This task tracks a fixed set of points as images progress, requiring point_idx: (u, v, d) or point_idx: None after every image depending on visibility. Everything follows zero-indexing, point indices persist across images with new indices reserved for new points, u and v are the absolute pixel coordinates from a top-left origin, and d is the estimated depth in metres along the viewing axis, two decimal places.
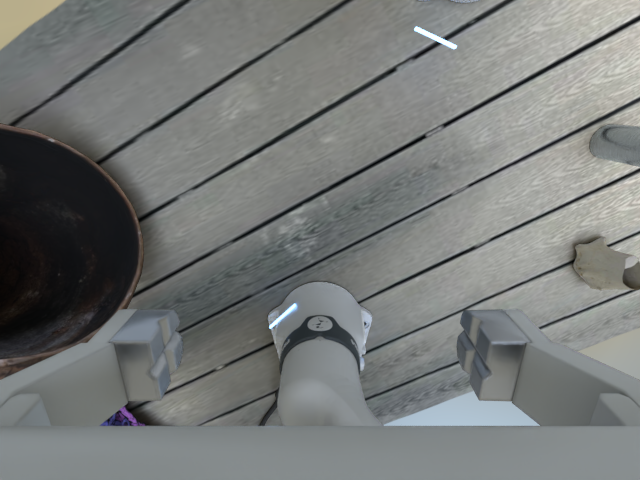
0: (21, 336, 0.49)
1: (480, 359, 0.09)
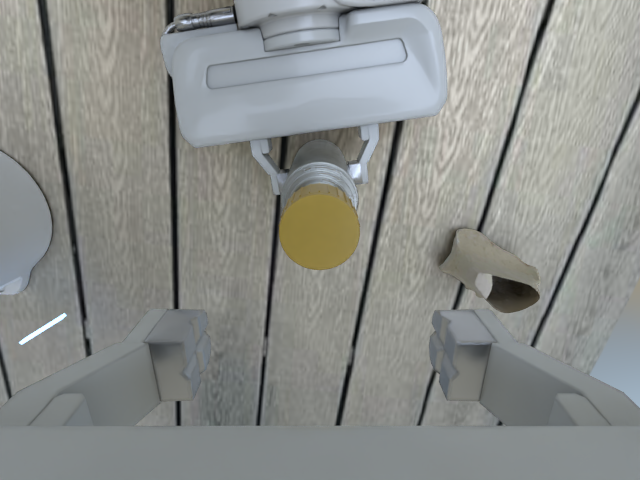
0: None
1: (448, 359, 0.09)
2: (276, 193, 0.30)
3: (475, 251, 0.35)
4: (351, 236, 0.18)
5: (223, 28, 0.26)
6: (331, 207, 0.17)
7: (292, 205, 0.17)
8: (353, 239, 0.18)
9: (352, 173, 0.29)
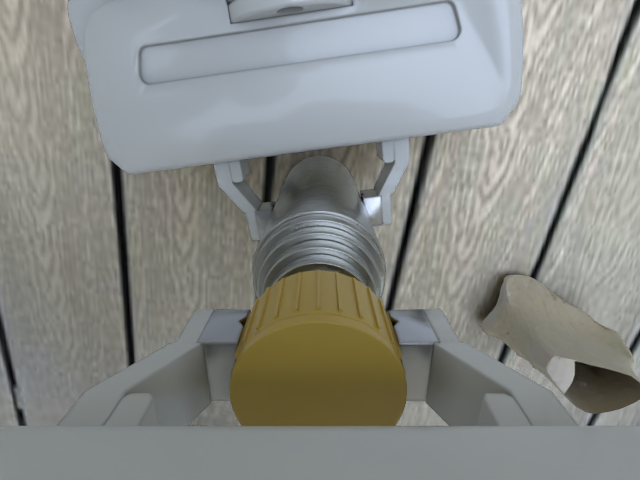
0: None
1: None
2: (255, 239, 0.20)
3: (533, 309, 0.26)
4: (388, 401, 0.08)
5: None
6: (345, 347, 0.08)
7: (257, 343, 0.08)
8: (393, 407, 0.08)
9: (368, 211, 0.20)
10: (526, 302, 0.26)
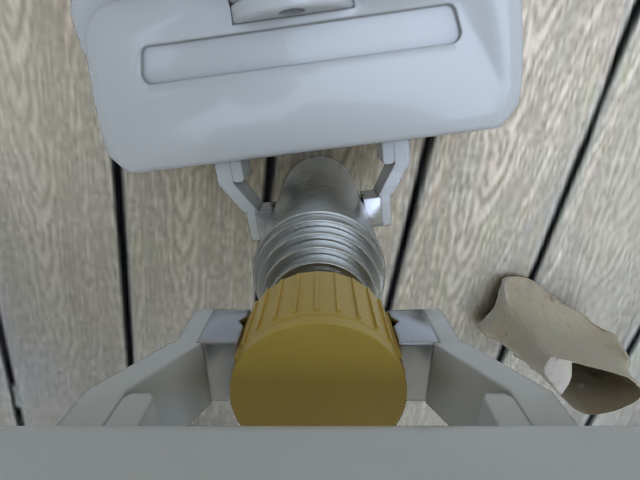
0: None
1: None
2: (255, 238, 0.20)
3: (531, 310, 0.26)
4: (333, 339, 0.08)
5: None
6: (259, 372, 0.08)
7: None
8: (340, 336, 0.07)
9: (368, 211, 0.20)
10: (524, 303, 0.26)
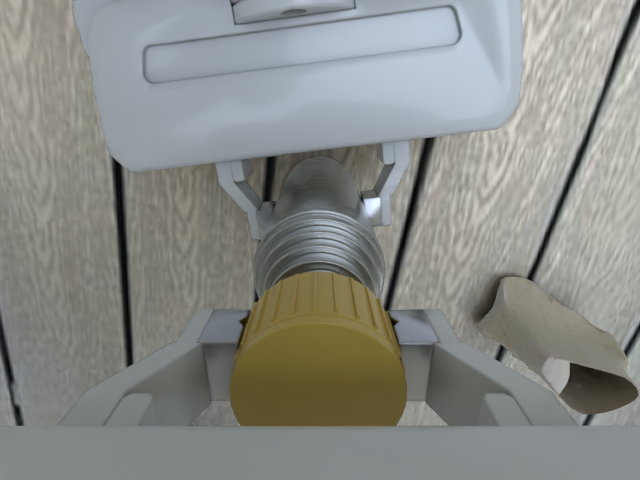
0: None
1: None
2: (256, 238, 0.21)
3: (530, 311, 0.26)
4: (248, 381, 0.08)
5: None
6: None
7: None
8: (244, 376, 0.08)
9: (368, 211, 0.20)
10: (522, 304, 0.26)
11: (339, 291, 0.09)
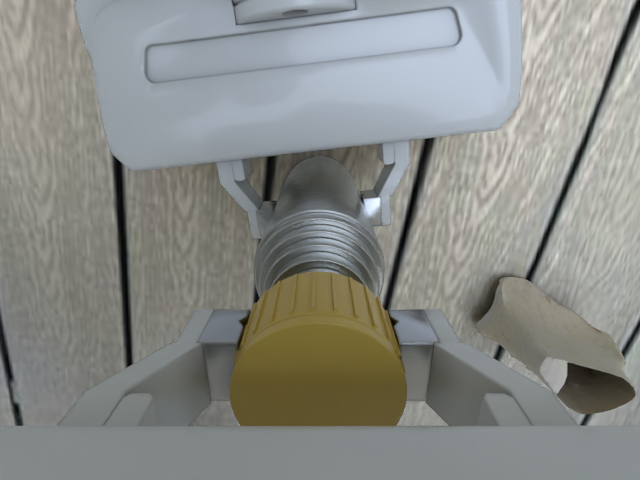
0: None
1: None
2: (256, 237, 0.21)
3: (528, 311, 0.26)
4: None
5: None
6: None
7: (399, 369, 0.08)
8: None
9: (368, 211, 0.20)
10: (521, 304, 0.27)
11: None
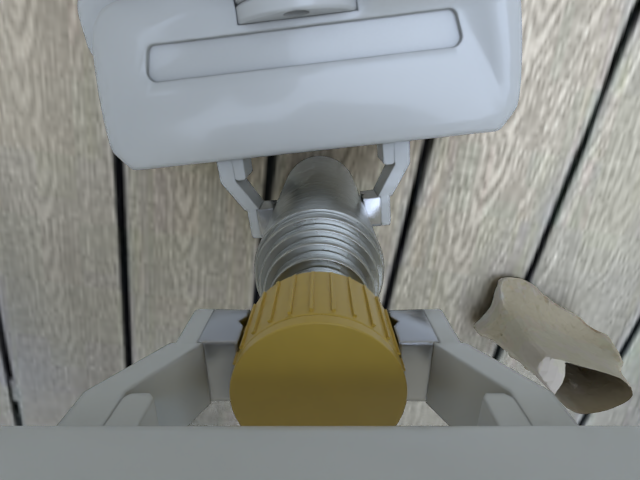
0: None
1: None
2: (256, 236, 0.21)
3: (526, 311, 0.26)
4: (378, 423, 0.08)
5: None
6: (368, 361, 0.08)
7: (288, 328, 0.07)
8: None
9: (368, 211, 0.20)
10: (519, 304, 0.27)
11: None
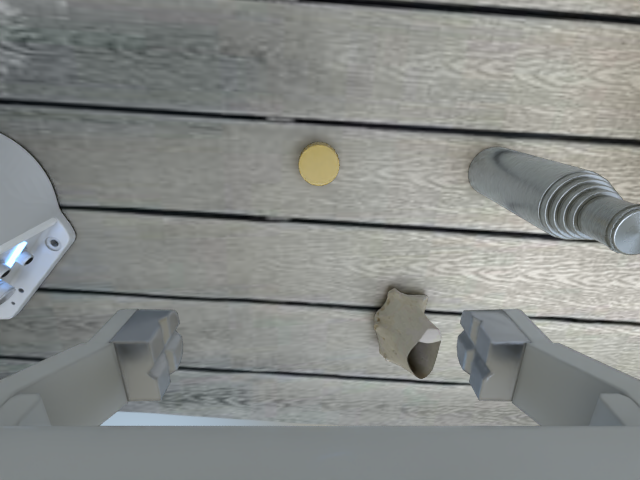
0: None
1: (480, 359, 0.09)
2: None
3: None
4: (328, 152, 0.35)
5: None
6: (310, 153, 0.35)
7: (299, 169, 0.36)
8: (330, 152, 0.35)
9: None
10: (421, 310, 0.41)
11: None
